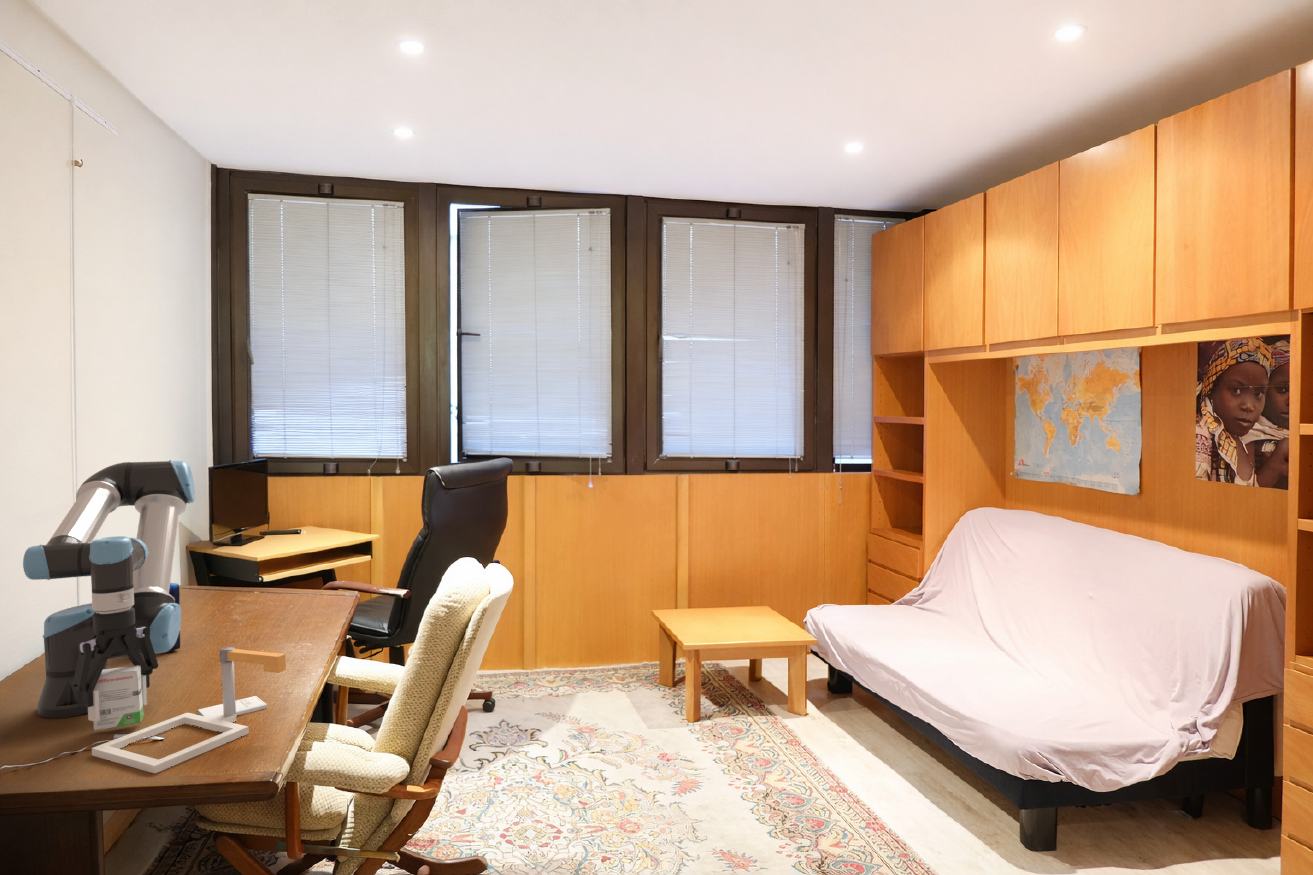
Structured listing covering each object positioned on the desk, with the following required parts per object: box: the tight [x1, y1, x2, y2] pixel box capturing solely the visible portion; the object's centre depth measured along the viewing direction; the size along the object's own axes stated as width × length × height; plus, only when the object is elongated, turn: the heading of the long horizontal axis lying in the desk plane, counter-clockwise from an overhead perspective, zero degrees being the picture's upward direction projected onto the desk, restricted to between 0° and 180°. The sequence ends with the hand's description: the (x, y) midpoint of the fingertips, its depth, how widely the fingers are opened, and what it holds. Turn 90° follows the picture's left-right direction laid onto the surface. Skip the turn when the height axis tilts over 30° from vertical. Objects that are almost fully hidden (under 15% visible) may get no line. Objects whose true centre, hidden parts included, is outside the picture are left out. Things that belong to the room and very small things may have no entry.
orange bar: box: [218, 646, 287, 674], centre depth 173 cm, size 3×16×4 cm, turn 72°
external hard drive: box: [196, 695, 268, 718], centre depth 181 cm, size 2×8×12 cm
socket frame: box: [91, 661, 250, 775], centre depth 165 cm, size 20×24×14 cm
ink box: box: [92, 665, 144, 731], centre depth 171 cm, size 9×5×12 cm, turn 114°
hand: (118, 711), depth 171 cm, fingers closed on ink box, 9 cm apart
